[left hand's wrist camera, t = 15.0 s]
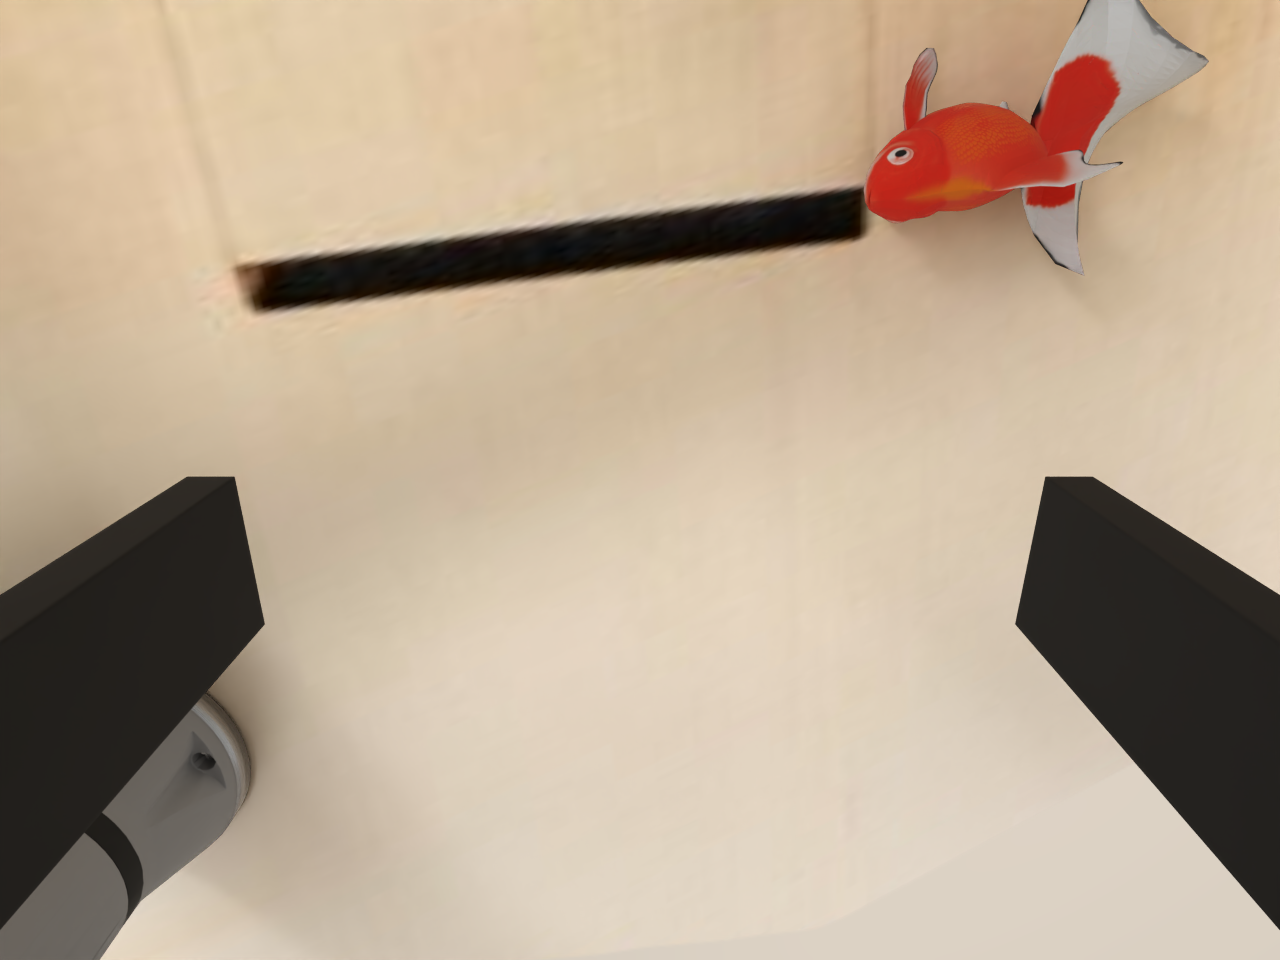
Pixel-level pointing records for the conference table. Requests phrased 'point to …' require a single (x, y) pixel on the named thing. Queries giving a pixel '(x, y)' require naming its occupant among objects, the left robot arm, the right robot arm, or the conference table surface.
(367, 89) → the conference table surface
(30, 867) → the left robot arm
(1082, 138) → the fish
